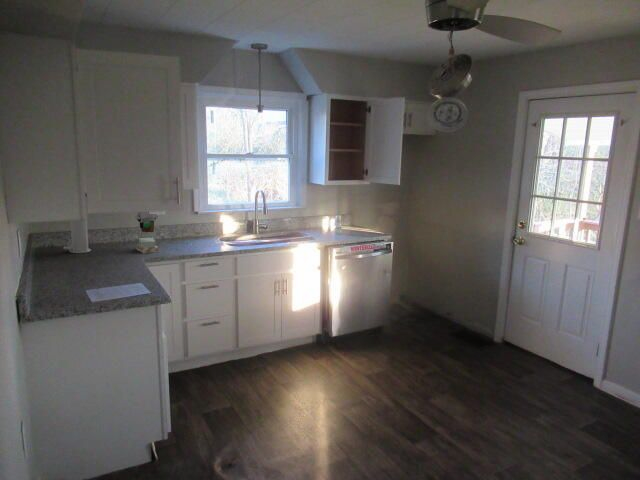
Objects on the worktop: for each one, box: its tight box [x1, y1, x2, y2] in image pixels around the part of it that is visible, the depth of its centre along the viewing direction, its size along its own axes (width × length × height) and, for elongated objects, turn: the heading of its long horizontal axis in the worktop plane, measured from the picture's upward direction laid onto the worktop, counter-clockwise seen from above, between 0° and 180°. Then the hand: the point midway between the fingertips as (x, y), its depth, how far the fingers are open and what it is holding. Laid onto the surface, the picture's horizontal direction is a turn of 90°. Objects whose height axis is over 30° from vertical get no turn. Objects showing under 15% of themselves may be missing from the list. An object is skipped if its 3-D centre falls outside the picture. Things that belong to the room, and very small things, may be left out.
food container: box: [139, 217, 156, 233], centre depth 317 cm, size 12×6×10 cm, turn 58°
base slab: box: [135, 243, 159, 254], centre depth 320 cm, size 10×14×4 cm
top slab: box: [138, 237, 156, 248], centre depth 319 cm, size 9×13×4 cm
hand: (146, 227), depth 318 cm, fingers closed on food container, 5 cm apart
